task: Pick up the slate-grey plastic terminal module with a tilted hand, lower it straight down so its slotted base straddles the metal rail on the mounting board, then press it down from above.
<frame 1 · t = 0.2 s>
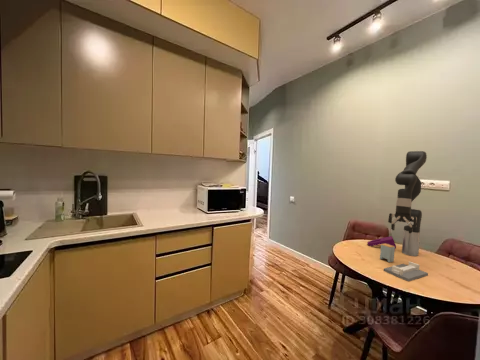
hand: (401, 231, 134), 22 cm above the table, tool pointing down, fingers open, 8 cm apart
mounting bracket: (380, 247, 171), on the table
terminal module: (386, 260, 145), on the table
mounting board: (405, 273, 127), on the table
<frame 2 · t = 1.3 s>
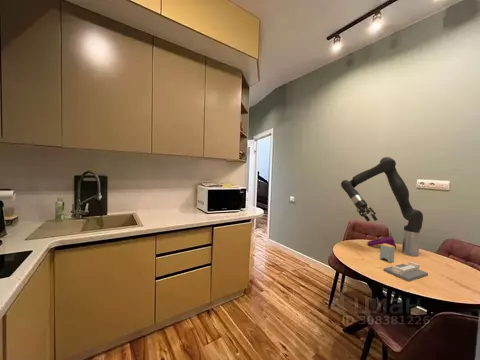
hand: (372, 220, 154), 24 cm above the table, tool tilted 45°, fingers open, 8 cm apart
nothing on the table moved.
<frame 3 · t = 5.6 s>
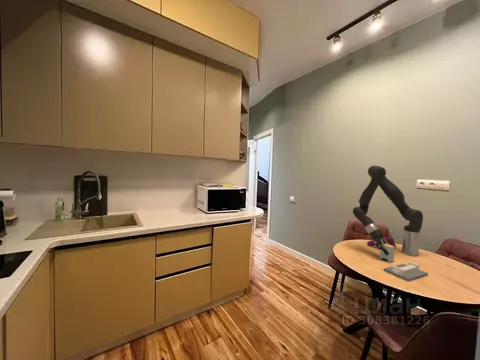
hand: (390, 254, 143), 5 cm above the table, tool tilted 45°, fingers closed on terminal module, 5 cm apart
terminal module: (386, 260, 145), on the table, touching gripper
everything else where it was.
when the fingers open (7 cm above the table, at t = 11.7 s): terminal module stays where it is, resting on mounting board.
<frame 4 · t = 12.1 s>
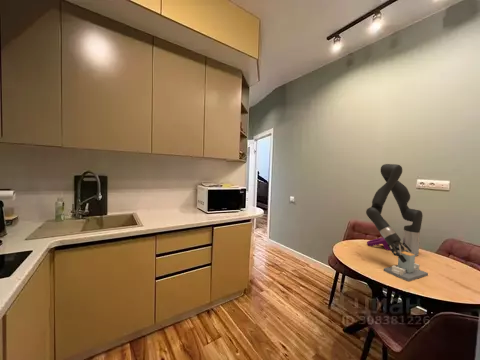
hand: (409, 261, 125), 8 cm above the table, tool tilted 45°, fingers open, 8 cm apart
terminal module: (405, 270, 127), point 1 cm above the table, touching mounting board
everything else where it was.
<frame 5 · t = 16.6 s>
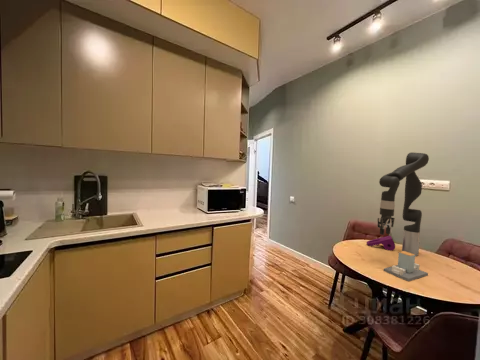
hand: (384, 233, 137), 19 cm above the table, tool pointing down, fingers open, 5 cm apart
nothing on the table moved.
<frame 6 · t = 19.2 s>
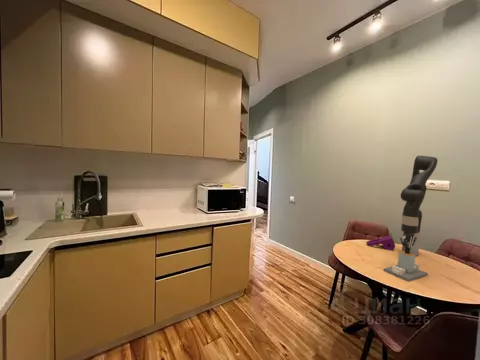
hand: (407, 253, 126), 12 cm above the table, tool pointing down, fingers closed
terminal module: (405, 270, 127), point 1 cm above the table, touching gripper, mounting board
everything else where it was.
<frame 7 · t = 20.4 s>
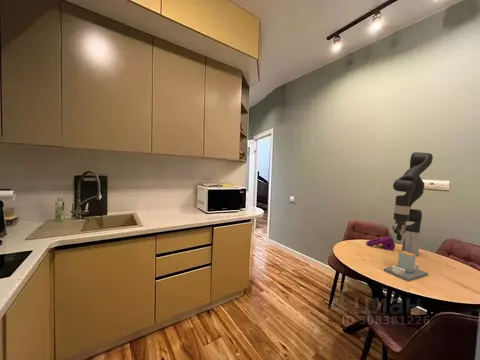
hand: (398, 240, 134), 17 cm above the table, tool pointing down, fingers closed
terminal module: (405, 270, 127), point 2 cm above the table, touching mounting board
everything else where it was.
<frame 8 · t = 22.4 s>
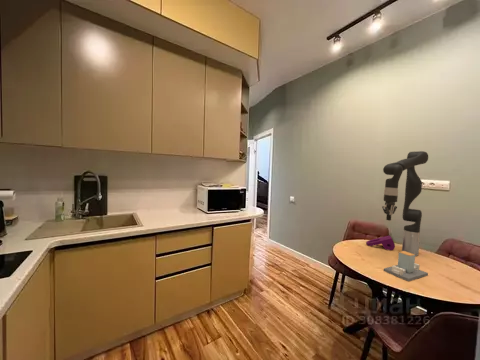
hand: (388, 220, 144), 27 cm above the table, tool pointing down, fingers closed
at the end: terminal module 0.1 cm off-centre on the mounting board, point 1.5 cm above the mounting board's base; terminal module tilted 0°; the gripper is holding nothing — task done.
